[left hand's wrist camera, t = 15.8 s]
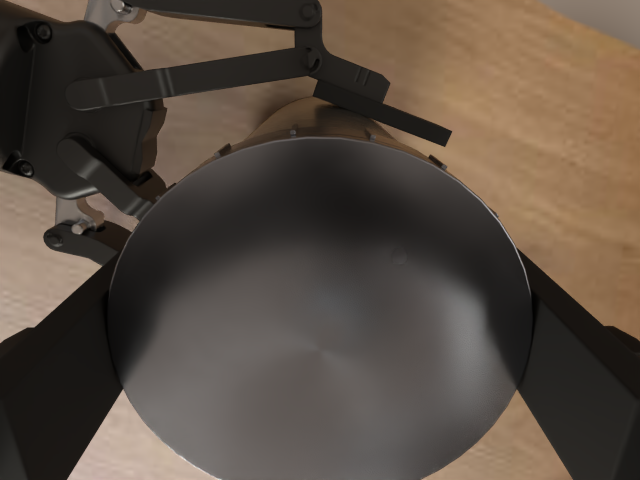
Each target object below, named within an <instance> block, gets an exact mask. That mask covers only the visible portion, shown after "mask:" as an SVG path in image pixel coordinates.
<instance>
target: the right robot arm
mask: <svg viewBox="0 0 640 480" xmlns="http://www.w3.org/2000/svg"><path fill="white" fill-rule="evenodd" d="M147 11H149V12H152V13H155V14H158V15H161V16H166V17H171V18H180V19H189V20H198V21H208V22H217V23H226V24H236V25H245V26H254V27H264V28H273V29H282V30H292V31H295V48H290V49H283V50H277V51H271V52H264V53H258V54H252V55H245V56H239V57H233V58H226V59H220V60H214V61H207V62H201V63H195V64H188V65H182V66H176V67H169V68H160V69H152V70H146V71H144V70H143V69H142V67H141V66H140V65H139V63H138V62H137V61H136V59H135V58H134V57H133V55H132V54H131V53H130V52H129V50H128V49H127V48H126V46H125V45H124V44H123V42H122V41H121V40H120V38H119V37H118V36H117V35H116V33H115V30H116V28H117V27H118V26H119V25H120V24H122V23H131V24H138V23H140V22H142V21H143V20H144V18H145V16H146V12H147ZM303 76H309V77H312V78H314V79H317V80H318V82H317V85H316V88H315V90H314V93H313V97H316V98H318V99H321V100H324V101H326V102H329V103H332V104H334V105H337V106H339V107H342V108H345V109H347V110H350V111H352V112H355V113H358V114H360V115H363V116H365V117H368V118H371V119H373V120H376V121H379V122H381V123H384V124H386V125H389V126H392V127H394V128H397V129H399V130H402V131H405V132H407V133H410V134H412V135H415V136H418V137H420V138H423V139H426V140H428V141H431V142H433V143H436V144H439V145H441V146H444V147H445V146H446V144H447V142H448V140H449V137H450V135H451V133H452V131H450V130H448V129H446V128H444V127H442V126H439V125H437V124H434V123H432V122H429V121H427V120H424V119H422V118H419V117H416V116H414V115H411V114H409V113H406V112H404V111H401V110H398V109H396V108H393V107H391V106H388V105H386V104H383V101H384V98H385V96H386V93H387V91H388V88H389V85H390V82H389V81H388V80H387V79H386V78H385V77H384V76H383V75H381V74H379V73H376V72H374V71H371V70H369V69H366V68H364V67H361V66H359V65H356V64H354V63H351V62H349V61H346V60H344V59H341V58H339V57H336V56H334V55H332V54H330V53H329V52H328V51H327V50H326V48H325V47H324V44H323V41H322V7H321V5H320V3H319V1H318V0H89V2H88V6H87V10H86V14H85V18H84V20H78V21H73V22H62V21H59V20H56V19H53V18H51V17H48V16H45V15H43V14H40V13H37V12H35V11H32V10H29V9H27V8H24V7H22V6H19V5H16V4H14V3H11V2H8V1H6V0H0V171H2V172H6V173H9V174H13V175H18V176H22V177H26V178H30V179H33V180H35V181H36V182H38V183H39V184H41V185H42V186H44V187H45V188H46V189H47V190H48V191H49V192H50V193H51V194H53V195H54V196H56V218H55V226H54V227H52V228H50V229H48V230H47V231H46V232H45V233H44V236H43V238H44V242H45V244H46V245H47V246H48V247H49V248H50V249H52V250H55V251H59V252H64V253H68V254H72V255H77V256H81V257H85V258H89V259H91V260H93V261H94V262H96V263H98V264H100V265H101V266H104V265H105V264H106V263H107V262H108V261H109V260H110V259H111V258H112V257H114V256H115V255H116V254H117V253H118V252H119V251H120V250H121V249H122V248H124V246H125V244H126V242H127V240H128V238H129V236H130V235H131V233H132V232H131V231H129V230H127V229H125V228H123V227H121V226H119V225H117V224H115V223H112V222H109V221H106V220H104V214H103V212H101V211H97V210H95V209H93V208H91V207H90V206H89V205H88V204H87V202H86V199H85V197H87V196H90V195H94V194H97V193H102V194H103V195H104V196H105V197H106V198H107V199H108V200H109V201H110V202H112V203H113V204H114V205H115V206H116V207H117V208H118V209H119V210H120V211H122V212H123V213H125V214H127V215H131V216H134V217H135V218H137V219H138V220H139V221H140V220H141V219H142V217H143V216H144V215H145V213H146V212H147V211H148V210H149V209H150V208H151V207H152V206H153V205H154V204H155V203H156V202H157V200H156V199H155V198H156V197H157V196H158V195H159V194H161V193H162V192H163V191H164V190H166V189H167V188H166V185H165V182H164V181H163V180H162V179H161V178H160V177H159V176H158V175H157V174H156V173H155V172H154V171H153V170H152V169H151V167H153V166H154V164H155V159H156V155H157V134H158V133H159V131H160V129H161V127H162V125H163V124H164V120H165V116H166V112H167V108H165V107H164V104H163V99H162V98H167V97H173V96H180V95H186V94H193V93H199V92H206V91H212V90H219V89H225V88H232V87H238V86H245V85H251V84H258V83H264V82H271V81H277V80H284V79H290V78H297V77H303Z"/></svg>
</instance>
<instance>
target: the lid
mask: <svg viewBox="0 0 640 480" xmlns="http://www.w3.org/2000/svg"><path fill="white" fill-rule="evenodd" d="M214 155H215V156H213V157H211V158H210V159H208V160H206V161H205V162H204V163H202V164H201V165H200V166H198V167H197V168H196V169H195V170H193V171H192V172H191V173H190V174H188V175H187V176H186V177H184V178H183V179H182V180H181V181H179V182H178V183H177V184H176V183H174V184H172V185H171V186H170V187H168V188H167V189H166V190H164V191H163V192H162V193H161V194H159V195H158V196H157V197H156V198H155V199H156V200H157V202H156V203H155V204H154V205H153V206H152V207H151V208H150V209H149V210H148V211H147V212H146V213H145V215H144V216H143V217H142V219H141V220H140V222H139V223H138V225H137V226H136V227H135V229H134V230H133V232H132V233H131V235H130V236H129V238H128V240H127V242H126V244H125V246H124V248H123V250H122V252H121V255H120V257H119V259H118V261H117V264H116V267H115V271H114V274H113V278H112V281H111V284H110V290H109V298H108V306H107V335H108V341H109V346H110V352H111V357H112V361H113V364H114V367H115V370H116V373H117V376H118V378H119V381H120V383H121V385H122V387H123V389H124V391H125V393H126V395H127V397H128V399H129V401H130V403H131V404H132V406H133V407H134V408H135V410H136V411H137V413H138V414H139V416H140V417H141V419H142V420H143V421H144V423H145V424H146V425H147V426H148V427H149V428H150V429H151V430H152V431H153V433H154V434H155V435H156V436H157V437H158V438H159V439H160V440H161V441H162V442H163V443H165V444H166V445H167V446H168V447H169V448H170V449H171V450H172V451H174V452H175V453H176V454H177V455H179V456H180V457H182V458H183V459H185V460H186V461H187V462H189V463H190V464H192V465H193V466H195V467H196V468H198V469H200V470H202V471H204V472H205V473H207V474H209V475H211V476H213V477H215V478H217V479H219V480H421V479H423V478H425V477H427V476H429V475H431V474H433V473H435V472H437V471H439V470H440V469H442V468H443V467H445V466H446V465H448V464H450V463H451V462H453V461H454V460H456V459H457V458H459V457H460V456H461V455H462V454H464V453H465V452H466V451H467V450H468V449H470V448H471V447H472V446H473V445H474V444H476V443H477V442H478V441H479V440H480V439H481V438H482V437H483V436H484V435H485V433H486V432H487V431H488V430H489V429H490V428H491V427H492V426H493V425H494V424H495V422H496V421H497V420H498V418H499V417H500V415H501V414H502V413H503V411H504V410H505V409H506V407H507V406H508V404H509V402H510V400H511V398H512V397H513V395H514V393H515V391H516V389H517V388H518V385H519V383H520V380H521V378H522V375H523V372H524V370H525V367H526V364H527V360H528V355H529V351H530V346H531V342H532V328H533V310H532V298H531V291H530V287H529V283H528V278H527V274H526V270H525V267H524V265H523V262H522V260H521V258H520V255H519V253H518V251H517V248H516V246H515V244H514V242H513V241H512V239H511V237H510V236H509V234H508V233H507V231H506V229H505V228H504V226H503V225H502V223H501V221H500V220H499V219H498V217H499V216H498V215H497V213H496V212H494V211H493V210H492V209H491V208H489V207H488V206H487V205H486V204H485V203H484V202H483V200H482V199H481V198H479V197H478V196H477V195H476V194H475V193H474V192H472V191H471V190H470V189H469V188H468V187H467V186H465V185H464V184H463V183H462V182H461V181H460V180H458V179H457V178H456V177H454V176H453V175H452V174H451V173H449V172H448V171H447V170H446V168H447V166H446V165H445V164H443V163H442V162H441V161H439V160H438V159H437V158H435V157H434V156H433V155H431V154H430V156H429V157H427V156H425V155H423V154H422V153H420V152H419V151H417V150H415V149H413V148H411V147H408V146H406V145H404V144H402V143H400V142H397V141H395V140H393V139H390V138H387V137H383V136H380V135H377V134H374V133H373V132H372V131H371V129H369V128H365V131H361V130H354V129H348V128H341V127H310V126H309V127H301V128H298V124H293V126H292V128H291V129H284V130H279V131H275V132H271V133H267V134H263V135H259V136H255V137H253V138H250V139H248V140H245V141H243V142H240V143H238V144H236V145H233V146H230V144H226V145H225V146H224V147H222V148H221V149H220V150H218V151H217V152H216V153H215V154H214Z"/></svg>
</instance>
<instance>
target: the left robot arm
mask: <svg viewBox="0 0 640 480" xmlns="http://www.w3.org/2000/svg"><path fill="white" fill-rule="evenodd" d="M122 250H123V248H122V249H121V250H120V251H119V252H118V253H117V254H116V255H115V256H114V257H112V258H111V259H110V260H109V261H108V262H107V263H106V264H105V265H104V266H102V267H101V268H100V269H99V270H98V271H97V272H96V273H95V274H94V275H92V276H91V277H90V278H89V279H88V280H87V281H86V282H85V283H84V284H82V285H81V286H80V287H79V288H78V289H77V290H76V291H75V292H73V293H72V294H71V295H70V296H69V297H68V298H67V299H66V300H65V301H63V302H62V303H61V304H60V305H59V306H58V307H57V308H56V309H55V310H53V311H52V312H51V313H50V314H49V315H48V316H47V317H46V318H45V319H43V320H42V321H41V322H40V323H39V324H38V325H37V326H36V327H35V328H26V329H24V330H22V331H20V332H18V333H16V334H15V335H13V336H11V337H9V338H7V339H5V340H4V341H2V342H1V343H0V480H67V479H68V477H69V475H70V474H71V472H72V470H73V469H74V467H75V466H76V464H77V462H78V461H79V459H80V458H81V456H82V454H83V453H84V451H85V449H86V448H87V446H88V445H89V443H90V441H91V440H92V438H93V437H94V435H95V433H96V432H97V430H98V428H99V427H100V425H101V424H102V422H103V420H104V419H105V417H106V416H107V414H108V412H109V411H110V409H111V408H112V406H113V404H114V403H115V401H116V399H117V398H118V396H119V395H120V393H121V391H122V390H123V387H122V385H121V383H120V381H119V378H118V376H117V373H116V370H115V367H114V364H113V361H112V357H111V352H110V346H109V341H108V335H107V306H108V298H109V290H110V284H111V281H112V278H113V274H114V271H115V267H116V264H117V261H118V259H119V257H120V255H121V252H122ZM517 251H518V253H519V255H520V258H521V260H522V262H523V265H524V267H525V270H526V274H527V278H528V283H529V287H530V291H531V298H532V310H533V328H532V342H531V346H530V351H529V355H528V360H527V364H526V367H525V370H524V372H523V375H522V378H521V380H520V383H519V385H518V388H517V390H518V391H519V393H520V395H521V396H522V398H523V399H524V401H525V403H526V404H527V406H528V407H529V409H530V411H531V412H532V414H533V416H534V417H535V419H536V420H537V422H538V424H539V425H540V427H541V428H542V430H543V432H544V433H545V435H546V437H547V438H548V440H549V441H550V443H551V445H552V446H553V448H554V449H555V451H556V453H557V454H558V456H559V458H560V459H561V461H562V462H563V464H564V466H565V467H566V469H567V470H568V472H569V474H570V475H571V477H572V479H573V480H640V341H639V340H637V339H636V338H634V337H632V336H631V335H629V334H627V333H625V332H623V331H621V330H619V329H617V328H616V327H614V326H603V325H602V324H601V323H600V322H599V321H598V320H597V319H595V318H594V317H593V316H592V315H591V314H590V313H589V312H588V311H587V310H585V309H584V308H583V307H582V306H581V305H580V304H579V303H578V302H577V301H575V300H574V299H573V298H572V297H571V296H570V295H569V294H568V293H567V292H565V291H564V290H563V289H562V288H561V287H560V286H559V285H558V284H556V283H555V282H554V281H553V280H552V279H551V278H550V277H549V276H548V275H546V274H545V273H544V272H543V271H542V270H541V269H540V268H539V267H538V266H536V265H535V264H534V263H533V262H532V261H531V260H530V259H529V258H528V257H526V256H525V255H524V254H523V253H522V252H521V251H520V250H519V249H518V248H517Z"/></svg>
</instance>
